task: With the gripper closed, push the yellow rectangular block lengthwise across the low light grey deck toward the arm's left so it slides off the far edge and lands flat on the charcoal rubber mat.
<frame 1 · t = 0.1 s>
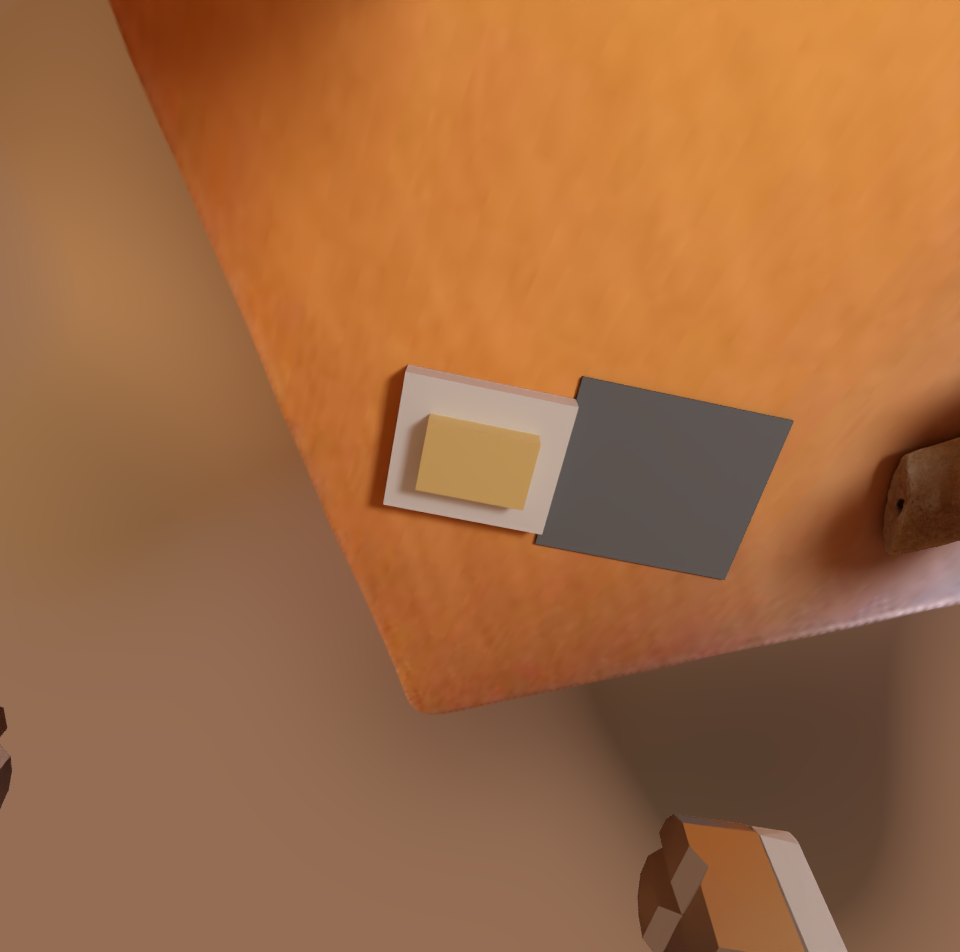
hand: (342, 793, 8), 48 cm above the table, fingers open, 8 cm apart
mat: (657, 483, 60), on the table
yellow rectangular block: (477, 457, 57), point 2 cm above the table, touching deck
deck: (477, 448, 58), on the table
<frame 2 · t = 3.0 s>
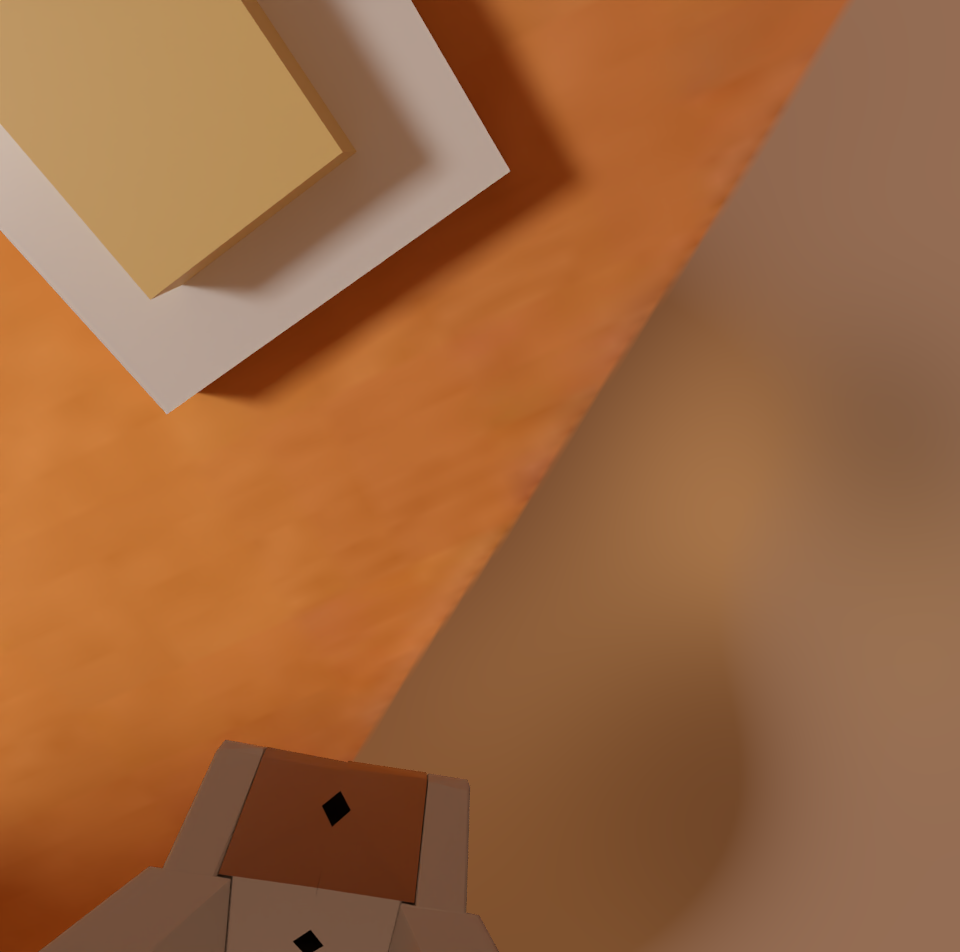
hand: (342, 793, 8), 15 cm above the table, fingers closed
yellow rectangular block: (141, 53, 16), point 2 cm above the table, touching deck
deck: (174, 62, 18), on the table
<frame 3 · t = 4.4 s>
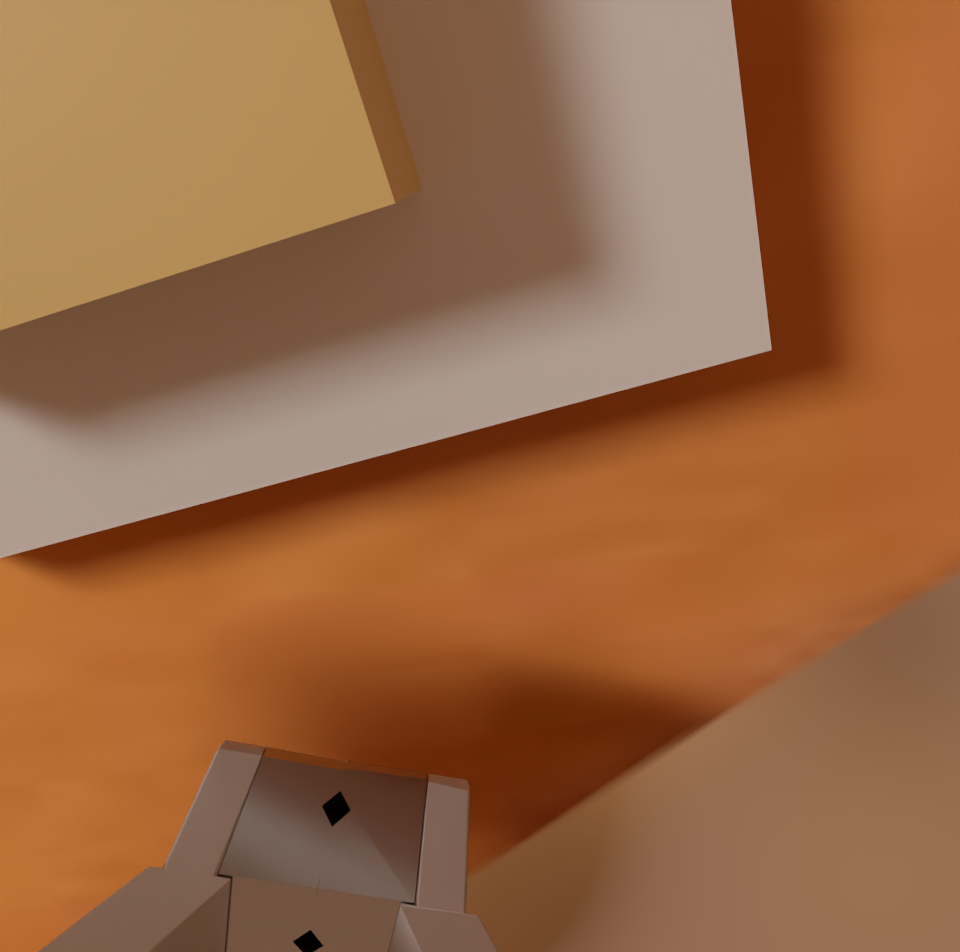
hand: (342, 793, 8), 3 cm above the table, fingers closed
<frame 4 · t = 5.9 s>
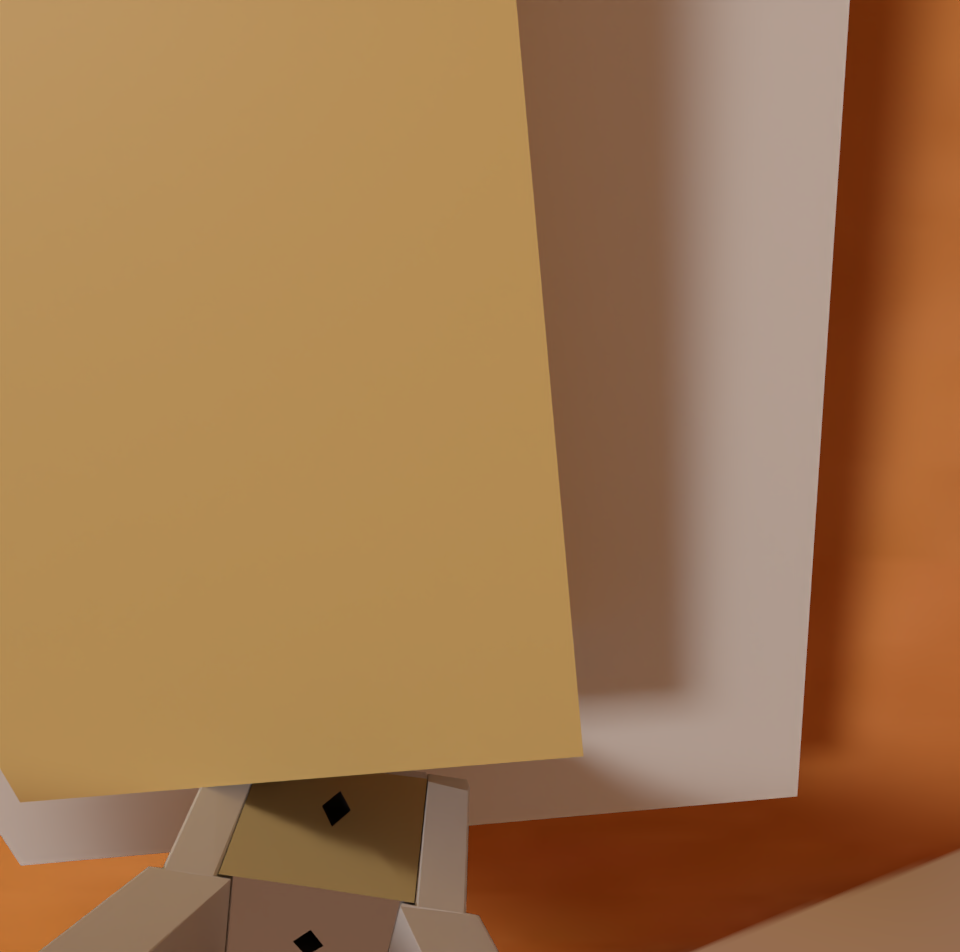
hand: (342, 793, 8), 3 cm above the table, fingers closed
yellow rectangular block: (237, 306, 7), point 2 cm above the table, touching deck, gripper
deck: (305, 348, 9), on the table
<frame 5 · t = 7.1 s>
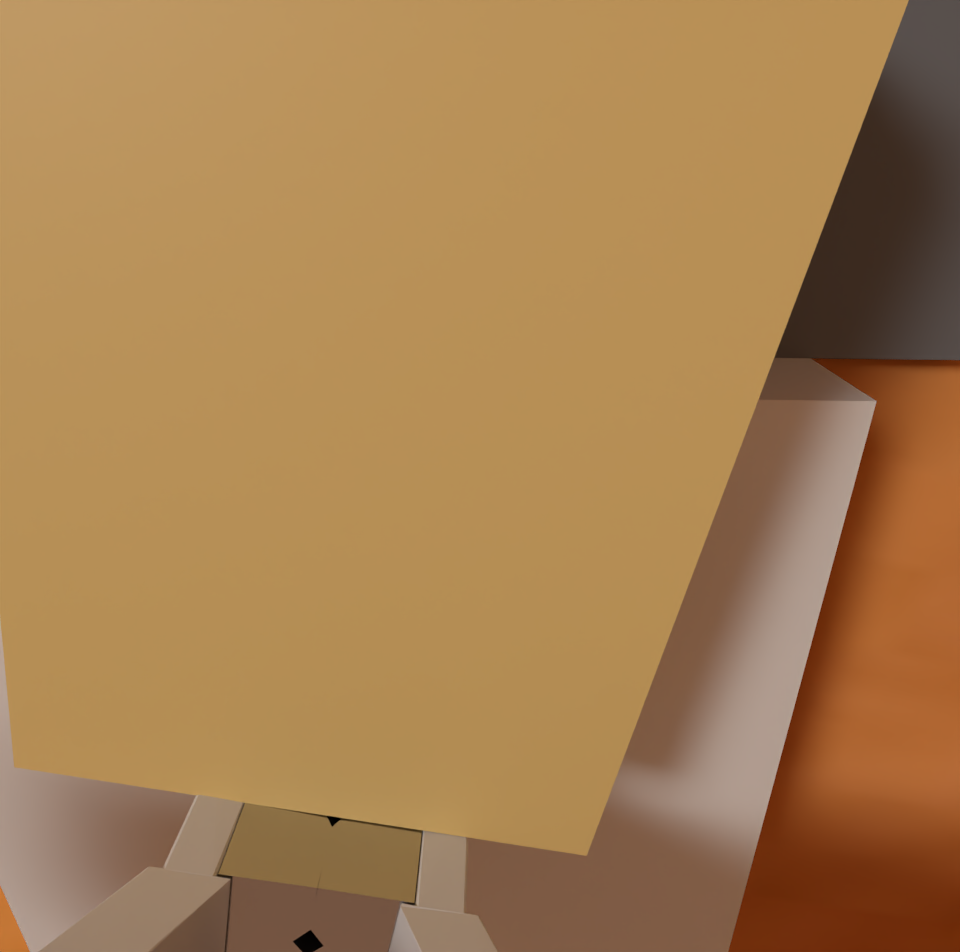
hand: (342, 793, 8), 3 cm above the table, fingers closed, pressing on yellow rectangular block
yellow rectangular block: (396, 351, 7), point 2 cm above the table, touching gripper
deck: (382, 731, 12), on the table
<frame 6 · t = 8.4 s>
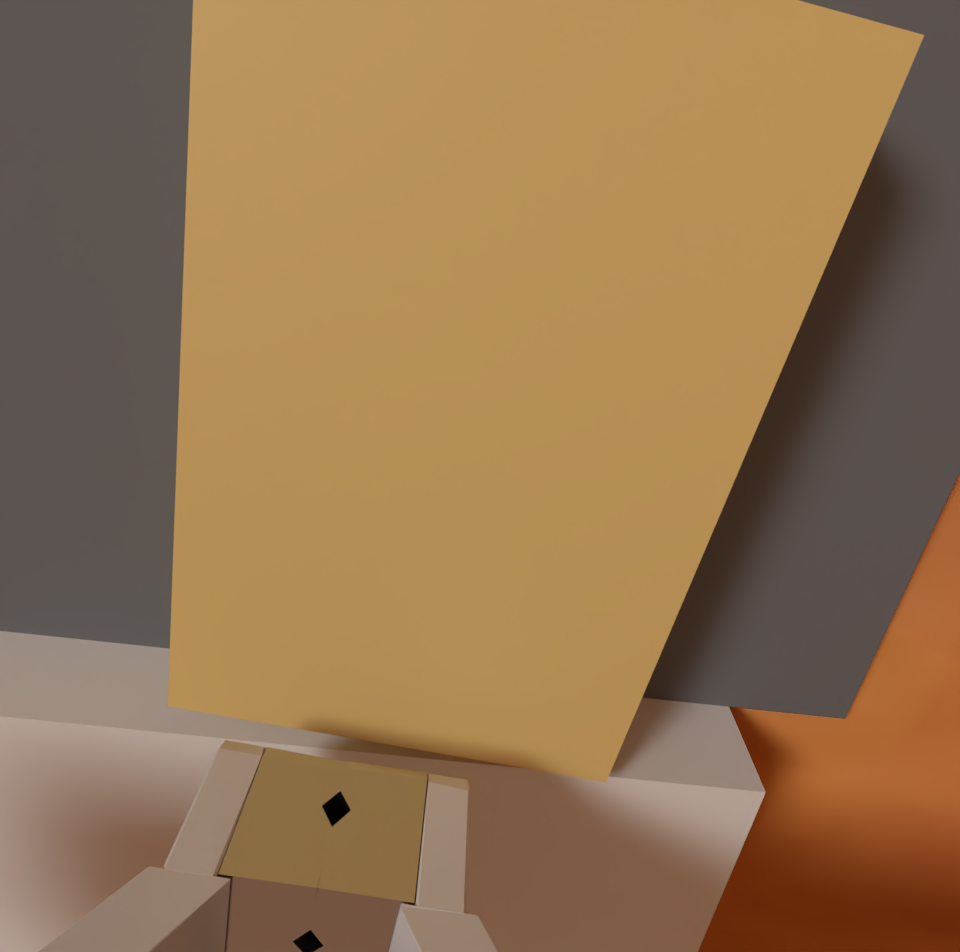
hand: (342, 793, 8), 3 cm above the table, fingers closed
mat: (418, 29, 8), on the table
yellow rectangular block: (467, 387, 9), resting on mat
deck: (356, 916, 15), on the table
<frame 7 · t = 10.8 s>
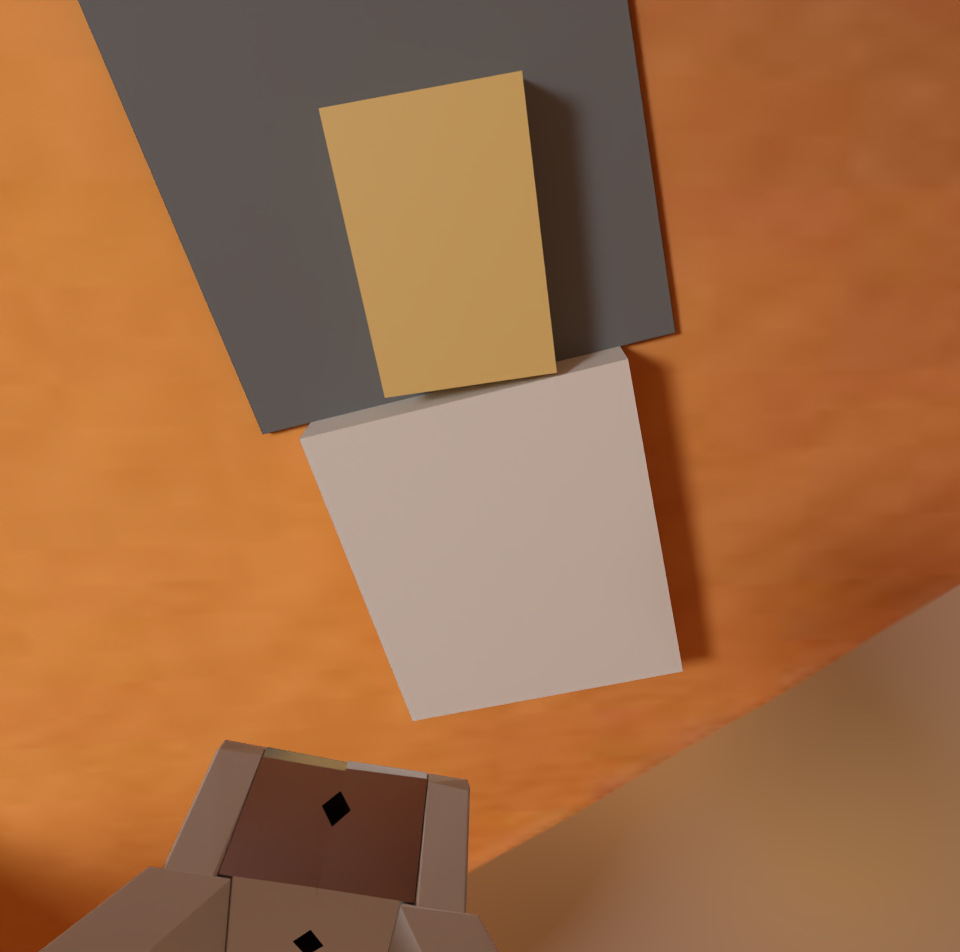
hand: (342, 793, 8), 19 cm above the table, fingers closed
mat: (387, 124, 22), on the table
yellow rectangular block: (450, 242, 24), resting on mat
deck: (505, 538, 29), on the table
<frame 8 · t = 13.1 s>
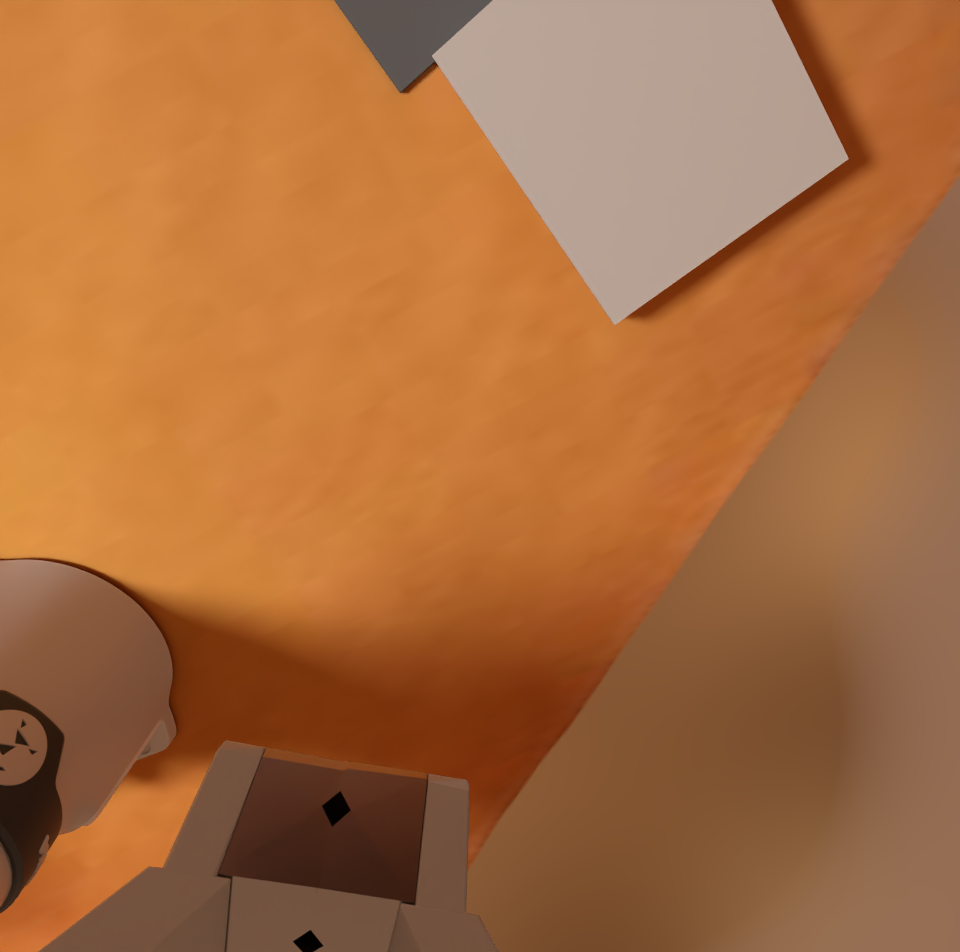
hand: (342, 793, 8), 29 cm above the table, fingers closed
deck: (636, 111, 31), on the table
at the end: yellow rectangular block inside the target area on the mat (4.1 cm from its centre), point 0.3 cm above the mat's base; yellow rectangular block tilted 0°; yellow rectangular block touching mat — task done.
